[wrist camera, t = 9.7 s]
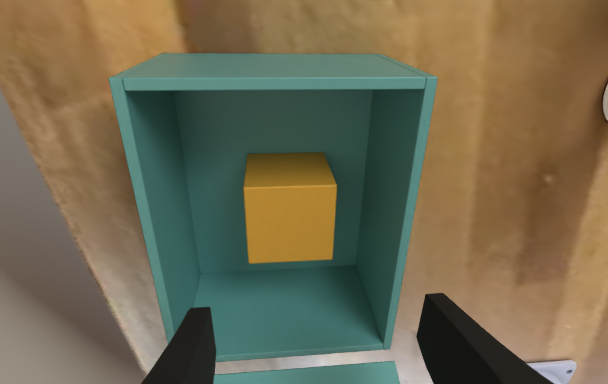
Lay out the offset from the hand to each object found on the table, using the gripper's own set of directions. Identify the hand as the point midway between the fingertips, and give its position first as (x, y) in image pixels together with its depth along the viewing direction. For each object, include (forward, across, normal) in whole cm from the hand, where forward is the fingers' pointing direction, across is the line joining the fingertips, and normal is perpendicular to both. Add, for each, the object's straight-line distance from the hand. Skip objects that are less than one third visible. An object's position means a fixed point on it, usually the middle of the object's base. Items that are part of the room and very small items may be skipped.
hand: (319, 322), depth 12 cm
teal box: (+9, +1, -1) cm, 10 cm away
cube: (+9, +1, -1) cm, 9 cm away
